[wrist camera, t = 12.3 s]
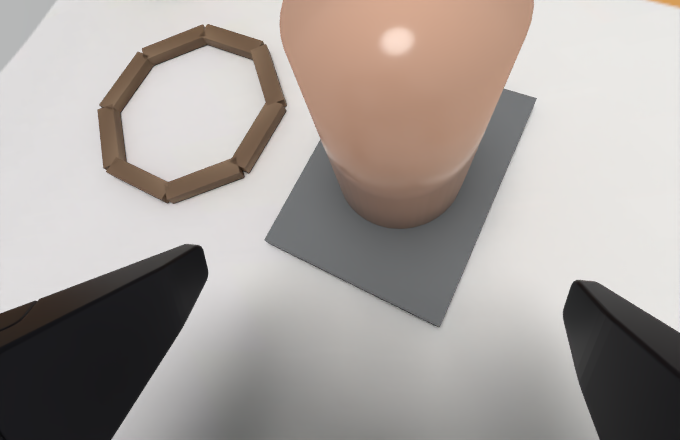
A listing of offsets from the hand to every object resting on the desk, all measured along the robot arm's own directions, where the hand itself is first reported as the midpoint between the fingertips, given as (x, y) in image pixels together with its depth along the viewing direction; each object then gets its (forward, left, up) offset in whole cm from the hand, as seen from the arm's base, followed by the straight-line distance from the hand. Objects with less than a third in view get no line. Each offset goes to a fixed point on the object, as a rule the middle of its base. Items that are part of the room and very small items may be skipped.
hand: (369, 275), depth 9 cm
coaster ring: (+5, +15, -8) cm, 18 cm away
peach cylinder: (+6, +2, -7) cm, 10 cm away
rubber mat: (+6, +2, -8) cm, 10 cm away
